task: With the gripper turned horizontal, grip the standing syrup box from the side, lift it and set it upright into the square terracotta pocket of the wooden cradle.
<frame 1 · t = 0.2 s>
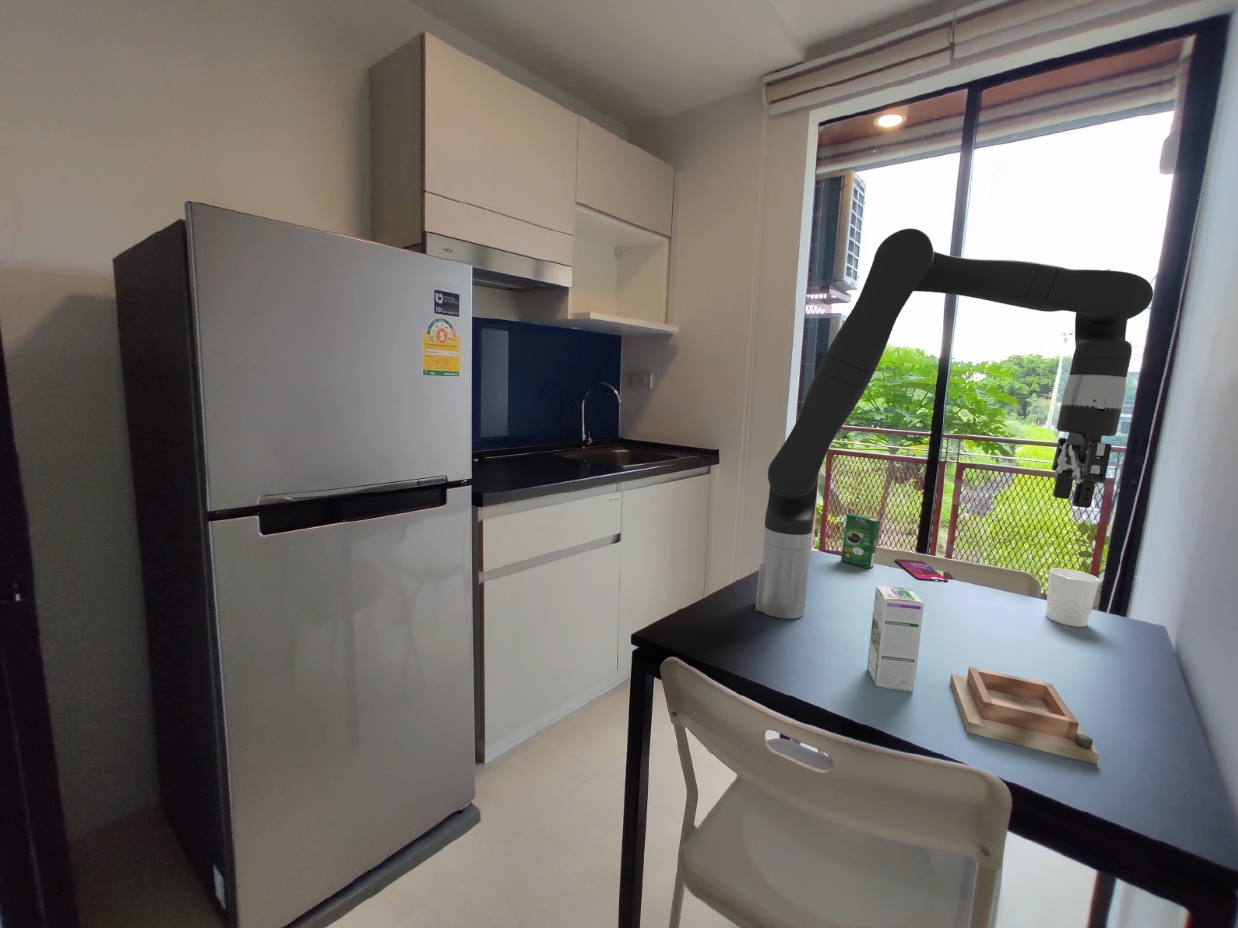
hand: (1070, 502, 90), 28 cm above the table, tool pointing down, fingers open, 8 cm apart
coffee box: (857, 565, 144), on the table
smartphone: (919, 573, 141), on the table
white cup: (1065, 621, 113), on the table
wooden cradle: (1014, 718, 77), on the table
syrup box: (888, 681, 86), on the table
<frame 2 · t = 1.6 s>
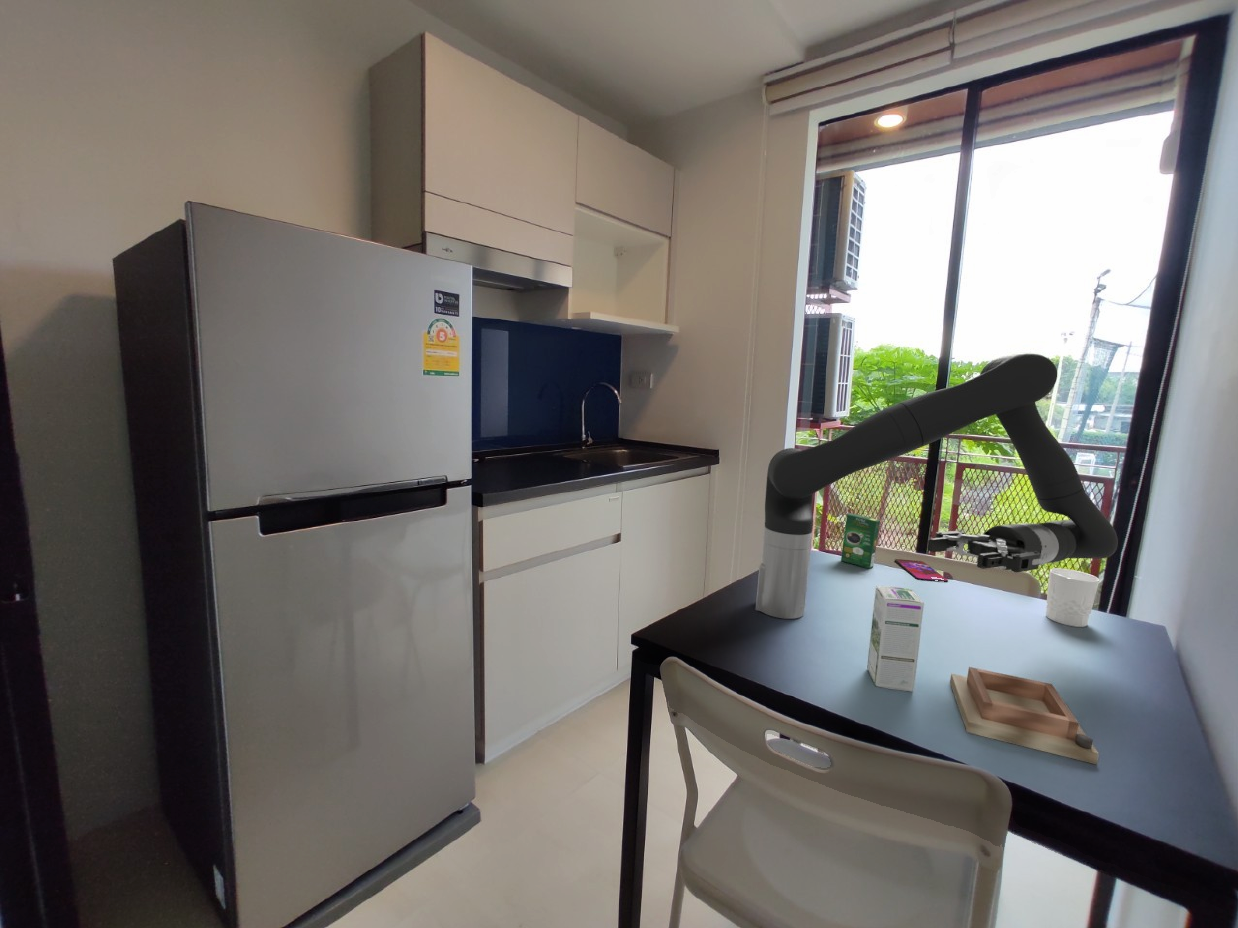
hand: (953, 553, 87), 20 cm above the table, tool horizontal, fingers open, 8 cm apart
nothing on the table moved.
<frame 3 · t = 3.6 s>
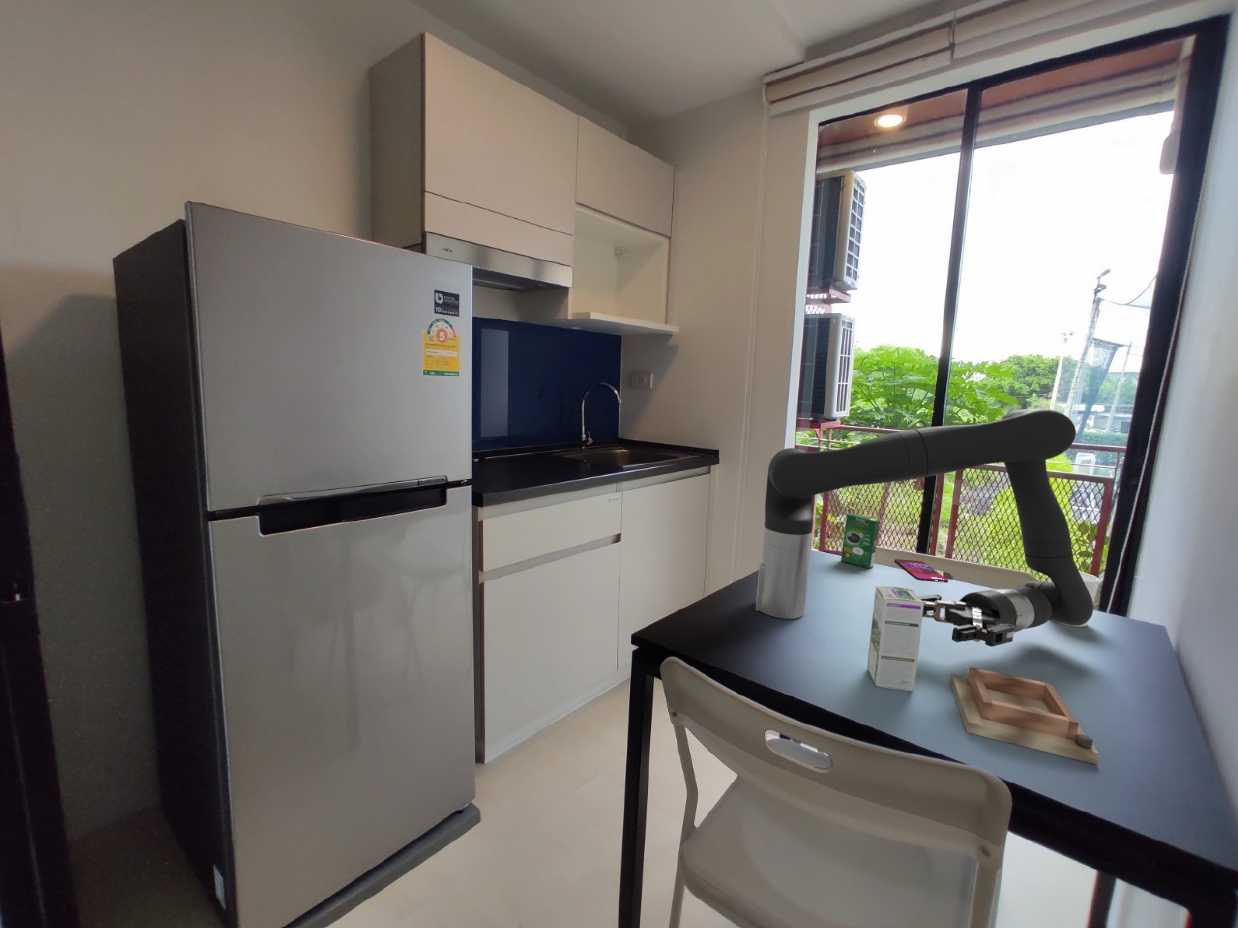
hand: (929, 623, 88), 8 cm above the table, tool horizontal, fingers open, 8 cm apart
nothing on the table moved.
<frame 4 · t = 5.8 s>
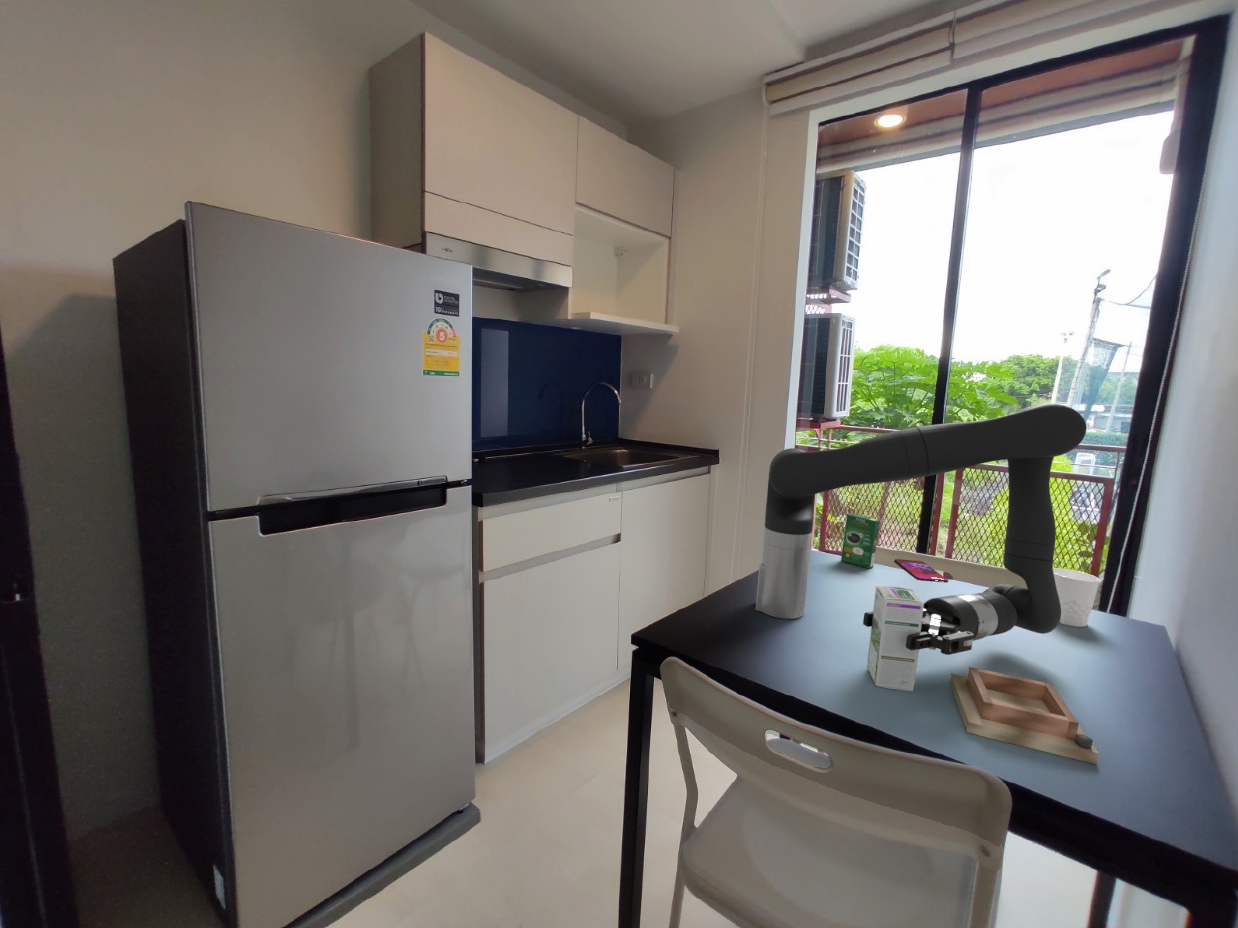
hand: (885, 630, 84), 9 cm above the table, tool horizontal, fingers closed on syrup box, 7 cm apart
syrup box: (888, 681, 86), on the table, touching gripper
everything else where it was.
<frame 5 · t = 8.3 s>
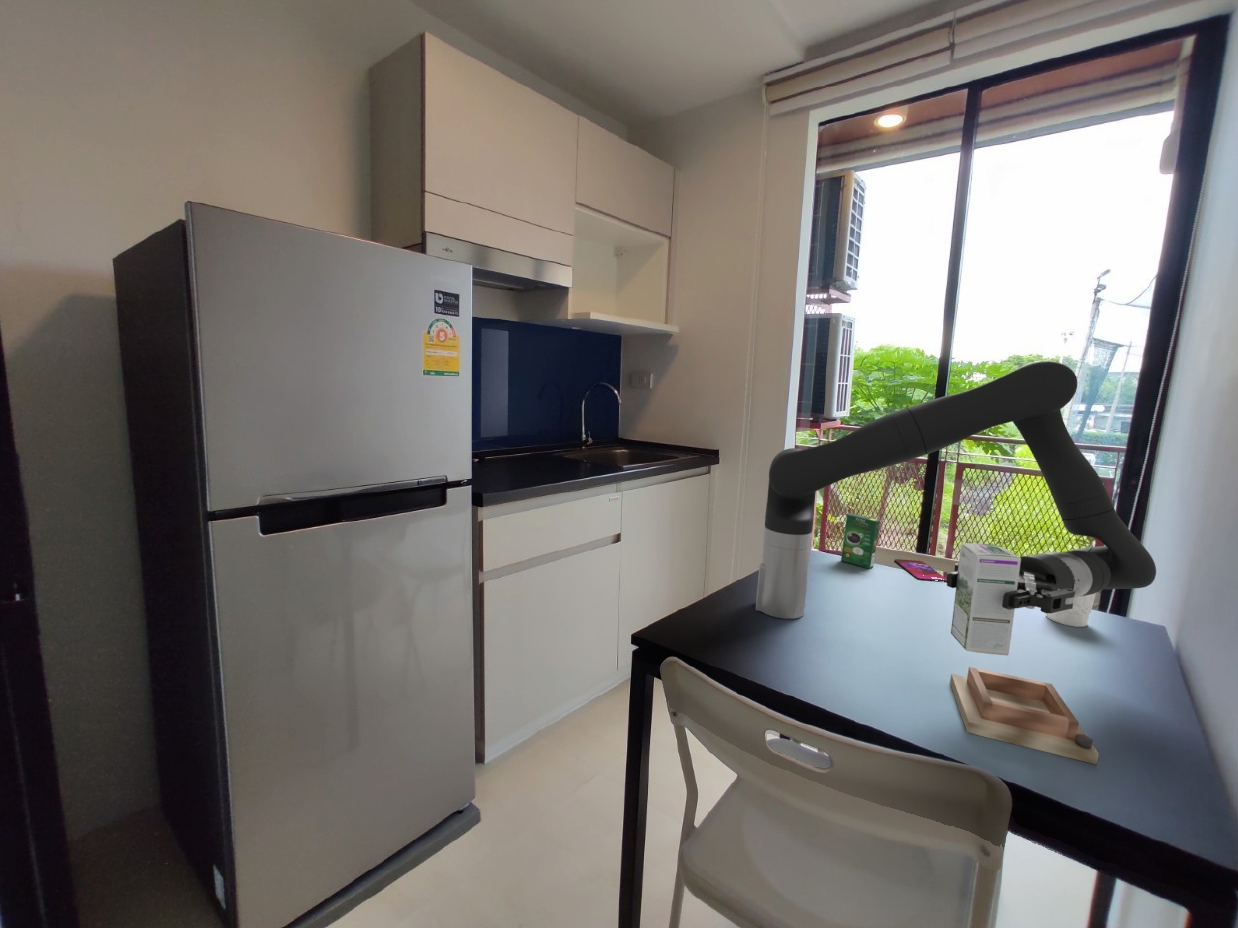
hand: (976, 590, 77), 18 cm above the table, tool horizontal, fingers closed on syrup box, 7 cm apart
syrup box: (977, 645, 79), point 9 cm above the table, touching gripper
everything else where it was.
when the fingers open (11 cm above the table, at t = 11.1 s): syrup box drops 1 cm, resting on wooden cradle.
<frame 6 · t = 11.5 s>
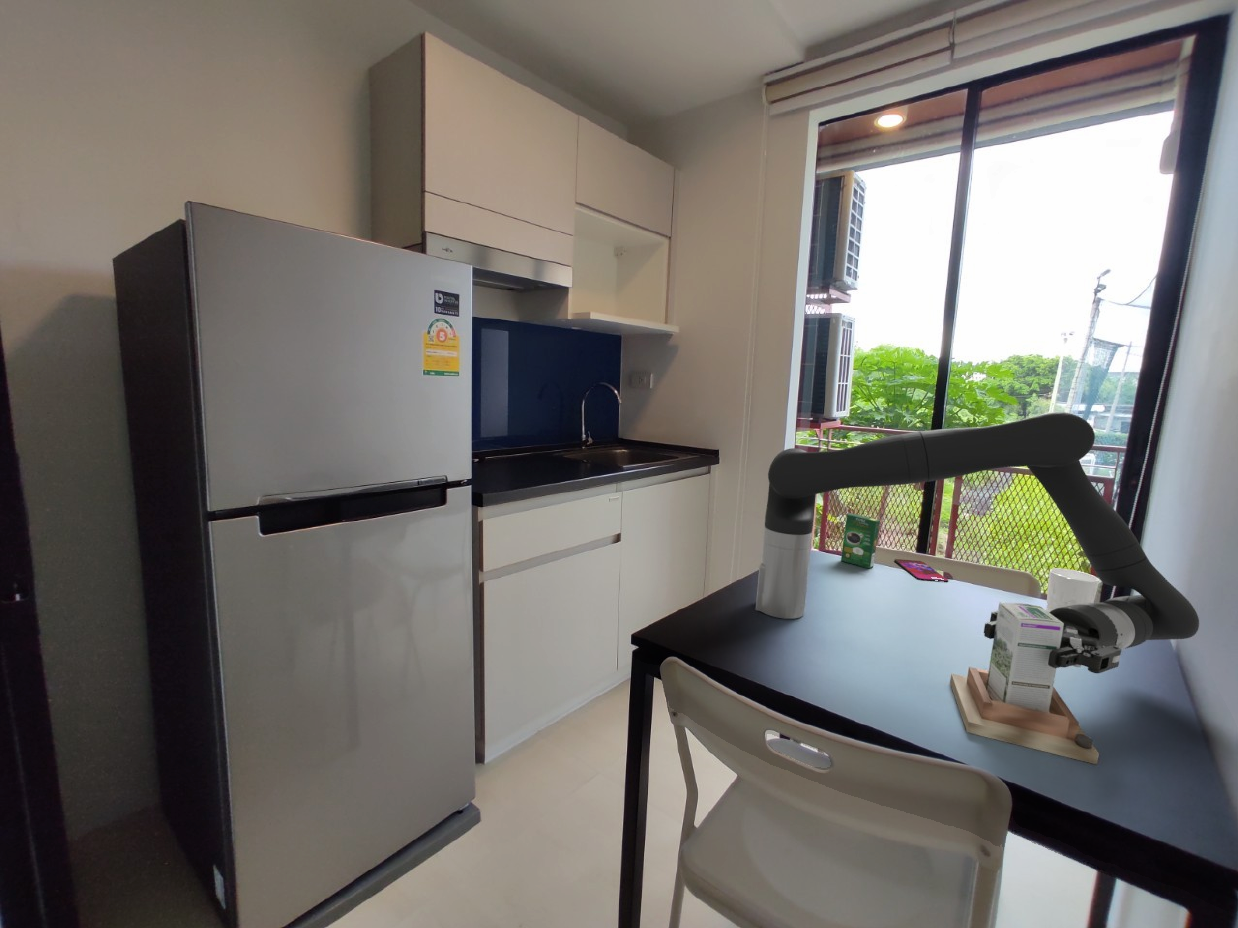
hand: (1018, 644, 75), 11 cm above the table, tool horizontal, fingers open, 8 cm apart
syrup box: (1014, 708, 77), point 1 cm above the table, touching wooden cradle, gripper
everything else where it was.
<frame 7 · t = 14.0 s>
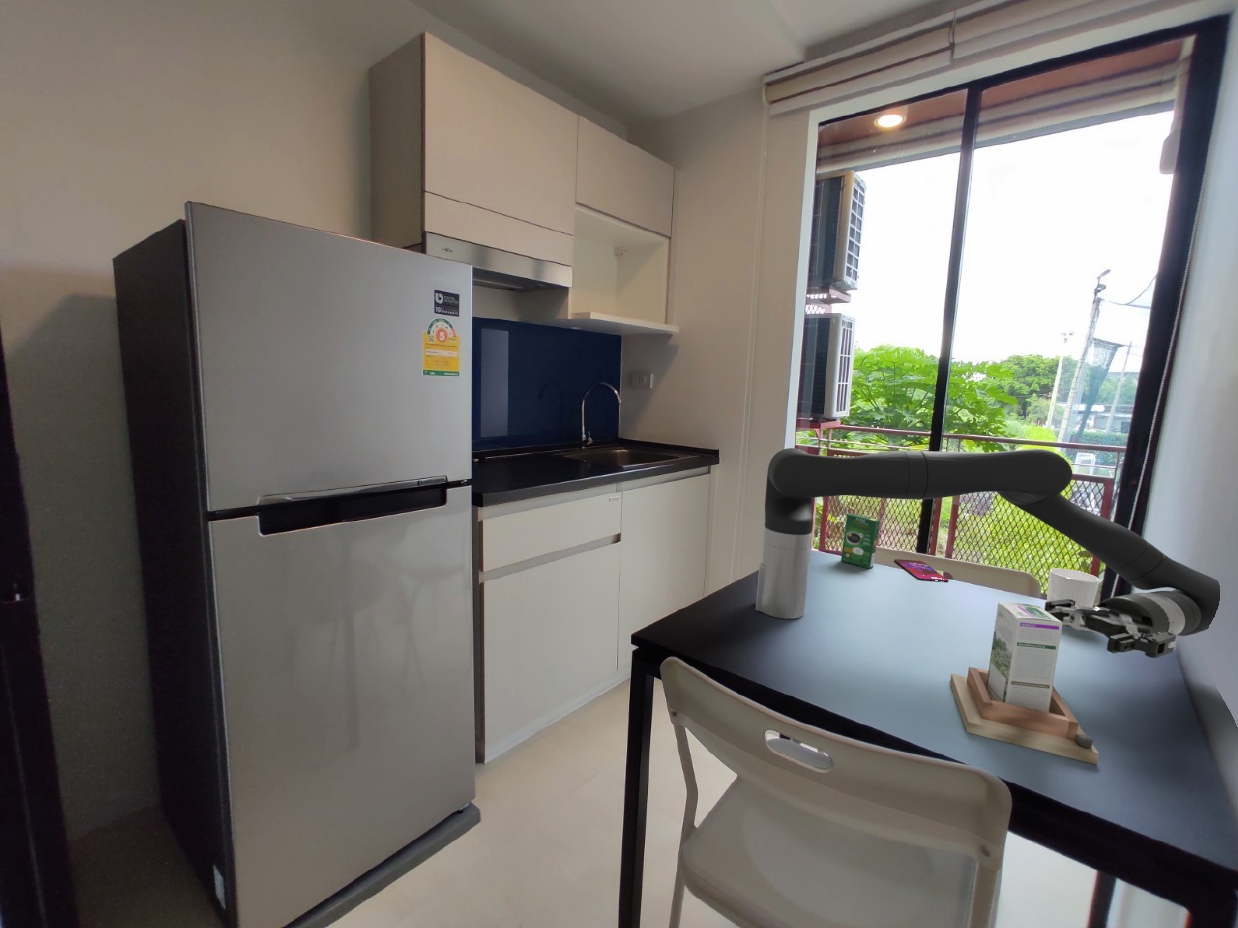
hand: (1075, 631, 79), 12 cm above the table, tool horizontal, fingers open, 8 cm apart
syrup box: (1014, 708, 77), point 1 cm above the table, touching wooden cradle
everything else where it was.
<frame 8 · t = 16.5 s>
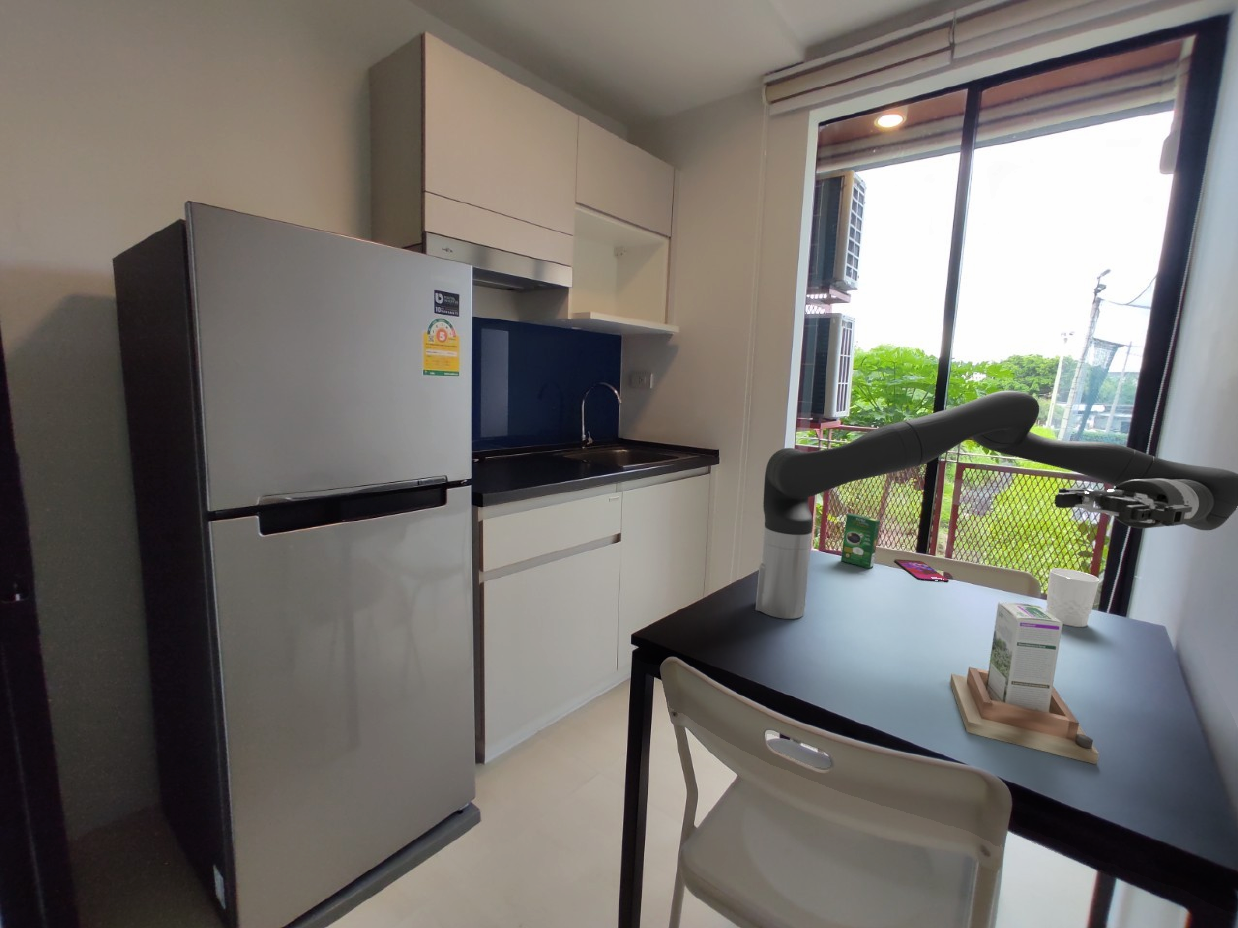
hand: (1091, 507, 79), 30 cm above the table, tool horizontal, fingers open, 8 cm apart
nothing on the table moved.
at the end: syrup box 0.4 cm off-centre on the wooden cradle, point 1.3 cm above the wooden cradle's base; syrup box tilted 0°; the gripper is holding nothing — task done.
